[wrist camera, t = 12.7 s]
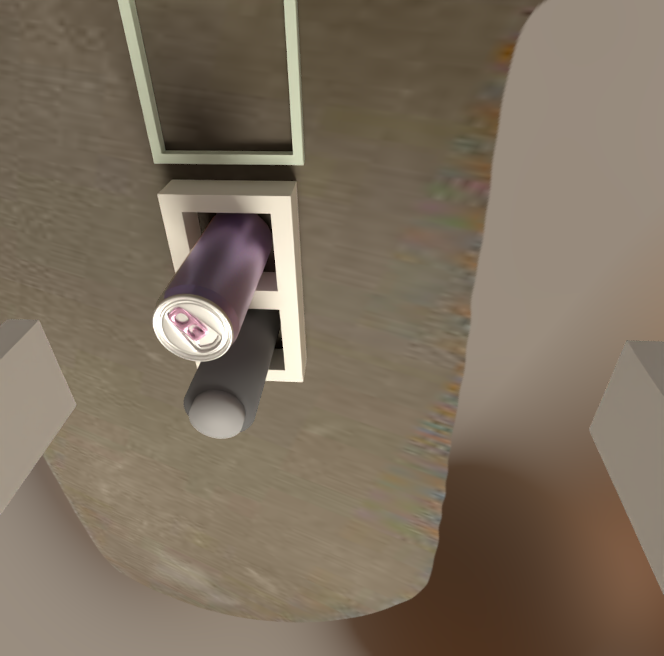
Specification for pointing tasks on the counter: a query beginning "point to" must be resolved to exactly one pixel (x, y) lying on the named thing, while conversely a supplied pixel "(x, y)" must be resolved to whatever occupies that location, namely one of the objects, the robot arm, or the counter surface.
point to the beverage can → (213, 288)
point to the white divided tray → (285, 283)
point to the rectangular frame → (216, 157)
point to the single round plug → (234, 379)
